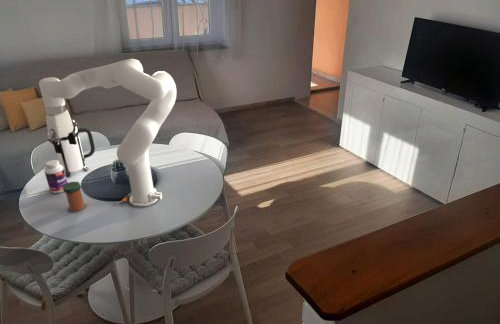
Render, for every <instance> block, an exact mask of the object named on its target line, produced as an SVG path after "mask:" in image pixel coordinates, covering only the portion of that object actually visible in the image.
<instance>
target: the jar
mask: <svg viewBox="0 0 500 324" xmlns="http://www.w3.org/2000/svg"><path fill="white" fill-rule="evenodd" d="M65 197H66V199H67V204H68V208H69V211H71V212H79V211H81V210H83V209H85V202H84V198H83V194H82V189H80V190H78V191H76V192H73V193H65Z"/></svg>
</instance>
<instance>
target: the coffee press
mask: <svg viewBox="0 0 500 324" xmlns="http://www.w3.org/2000/svg"><path fill="white" fill-rule="evenodd" d="M71 120H72V122H74V123H76V127H75V128H76V130H75V135H74V136H75V139H76V143H77V144H76V145H74V144H69V140H68V134H67V135H66V136H64V137H62V138H61V139H60V144H61V146H62V149H63V153H62V154H61V153H56V152H55V155H56V158H57V160H58V161H59V164H60V165H62V166H63V168H64V172H65V176H66V178H70V176H71V173H76V172H79V171H81V170H83V171H84V172H88V170H89V167H88V166H87V165H86V159H87V158H90V157H91V156H93V155H94V153H95V151H96V147H95V142H94V137H93V134H92V132H91V130H90V129H89V128H87V127H80V128H78V127H77V126H78V124H77V122H76V121H75V120H74V119H73V118H71ZM83 132H85V133H86V134H87V137H88V143H89V146H90V150H89V152H88V153H86V154H84V152H83V148H82V143H81V139H80V133H83ZM46 135H47V136H48V135H49V133H48V132H47V134H46ZM56 137H57V136H56ZM56 141H57V139H56Z"/></svg>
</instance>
